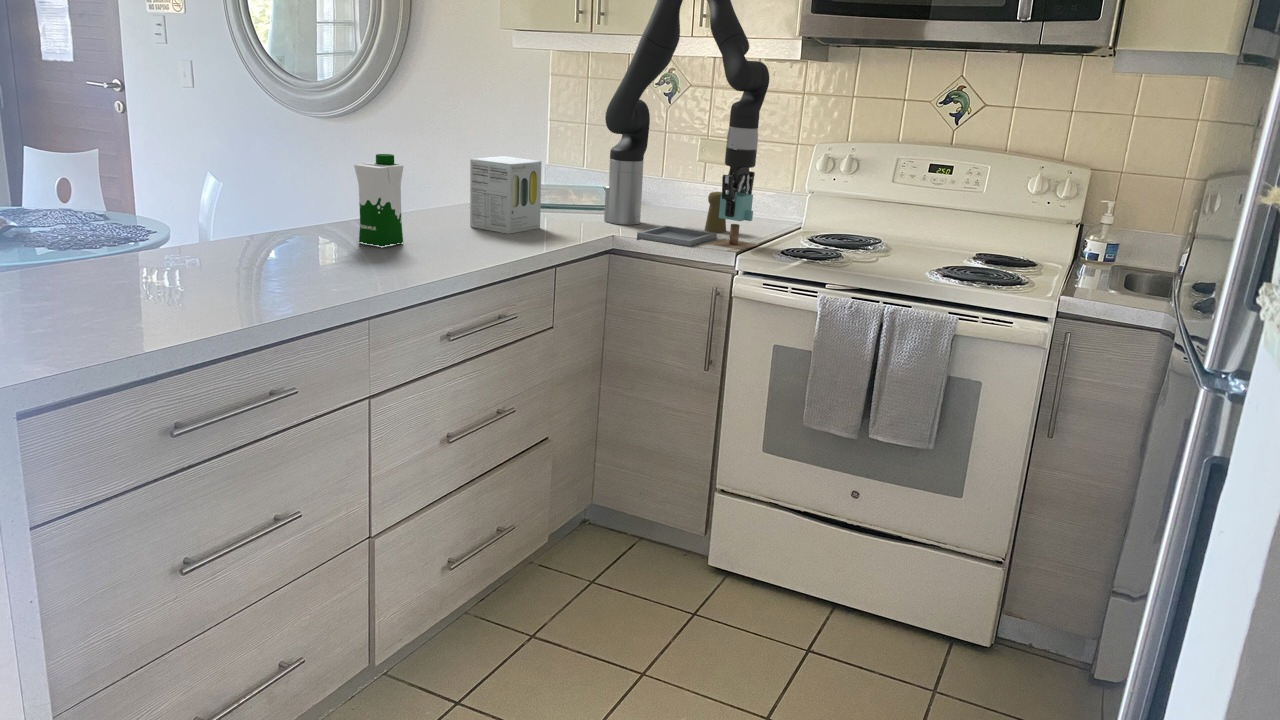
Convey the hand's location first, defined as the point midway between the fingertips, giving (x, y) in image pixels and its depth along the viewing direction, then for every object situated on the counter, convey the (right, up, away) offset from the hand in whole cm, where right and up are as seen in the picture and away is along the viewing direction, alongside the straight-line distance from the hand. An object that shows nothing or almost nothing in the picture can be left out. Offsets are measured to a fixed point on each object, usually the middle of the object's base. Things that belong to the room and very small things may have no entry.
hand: (735, 214), depth 233 cm
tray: (-14, -6, +6) cm, 16 cm away
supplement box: (-59, -2, +10) cm, 60 cm away
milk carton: (-83, -10, -19) cm, 86 cm away
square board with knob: (0, -8, +2) cm, 8 cm away
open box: (0, -1, 0) cm, 1 cm away
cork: (-3, -2, +20) cm, 20 cm away
